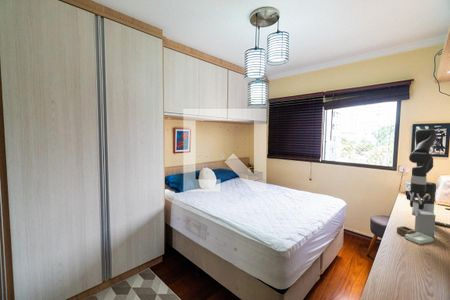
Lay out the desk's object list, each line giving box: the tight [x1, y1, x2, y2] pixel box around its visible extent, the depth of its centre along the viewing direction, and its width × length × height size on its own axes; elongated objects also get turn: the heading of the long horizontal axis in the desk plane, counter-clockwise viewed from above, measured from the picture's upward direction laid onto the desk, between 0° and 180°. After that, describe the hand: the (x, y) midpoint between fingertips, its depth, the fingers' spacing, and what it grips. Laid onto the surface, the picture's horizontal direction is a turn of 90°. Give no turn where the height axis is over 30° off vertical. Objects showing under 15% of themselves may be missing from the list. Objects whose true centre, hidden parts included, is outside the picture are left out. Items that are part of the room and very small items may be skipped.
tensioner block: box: [396, 226, 416, 237], centre depth 142 cm, size 7×7×4 cm
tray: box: [404, 232, 434, 245], centre depth 134 cm, size 13×8×2 cm, turn 105°
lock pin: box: [411, 198, 421, 217], centre depth 135 cm, size 5×5×10 cm
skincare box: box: [414, 211, 436, 238], centre depth 141 cm, size 8×7×16 cm
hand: (416, 208), depth 135 cm, fingers closed on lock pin, 4 cm apart
